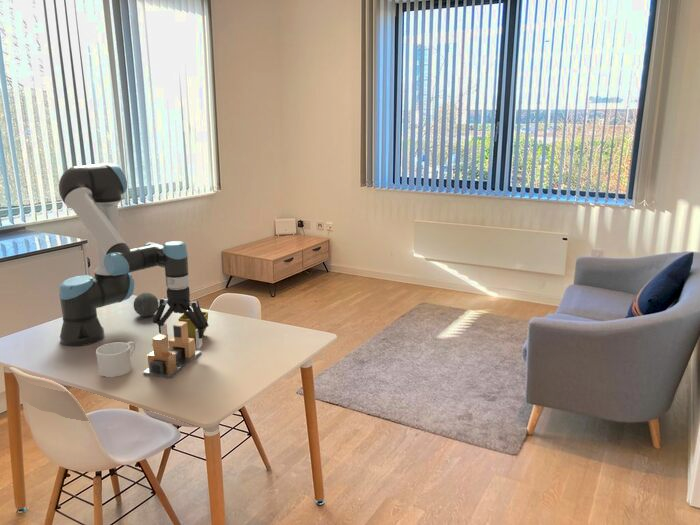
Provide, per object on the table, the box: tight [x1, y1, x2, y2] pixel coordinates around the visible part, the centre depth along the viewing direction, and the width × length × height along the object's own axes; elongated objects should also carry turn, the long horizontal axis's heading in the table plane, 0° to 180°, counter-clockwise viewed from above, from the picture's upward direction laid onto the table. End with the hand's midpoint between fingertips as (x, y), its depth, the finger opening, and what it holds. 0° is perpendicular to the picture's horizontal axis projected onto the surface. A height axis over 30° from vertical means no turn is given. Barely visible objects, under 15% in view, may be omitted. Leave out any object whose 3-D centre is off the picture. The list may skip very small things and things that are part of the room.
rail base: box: [142, 333, 202, 379], centre depth 193 cm, size 10×20×12 cm, turn 165°
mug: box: [95, 341, 136, 378], centre depth 189 cm, size 13×10×8 cm
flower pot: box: [178, 310, 209, 340], centre depth 216 cm, size 9×9×9 cm
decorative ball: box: [133, 292, 159, 317], centre depth 237 cm, size 10×10×10 cm
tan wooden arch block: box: [168, 320, 196, 358], centre depth 198 cm, size 8×5×12 cm, turn 75°
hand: (182, 344), depth 199 cm, fingers open, 13 cm apart
